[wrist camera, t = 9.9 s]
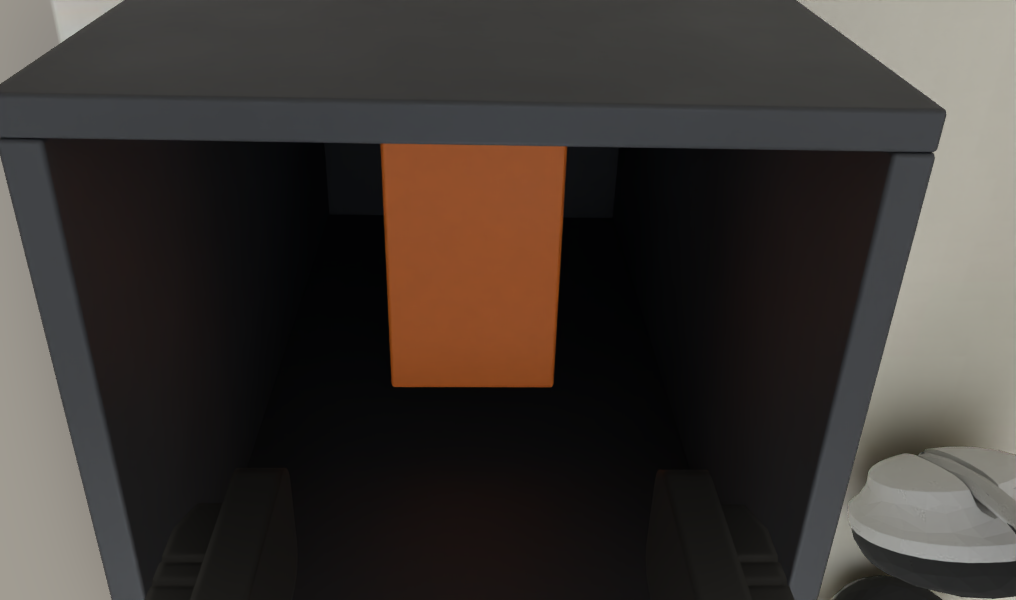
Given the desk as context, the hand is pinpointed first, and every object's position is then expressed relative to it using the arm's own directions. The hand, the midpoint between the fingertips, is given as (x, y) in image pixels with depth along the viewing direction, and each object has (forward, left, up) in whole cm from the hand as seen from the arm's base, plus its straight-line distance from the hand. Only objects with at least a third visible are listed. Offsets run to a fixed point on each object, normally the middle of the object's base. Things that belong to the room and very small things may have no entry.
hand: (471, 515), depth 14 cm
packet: (0, 0, -12) cm, 12 cm away
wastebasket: (0, 0, -23) cm, 23 cm away
